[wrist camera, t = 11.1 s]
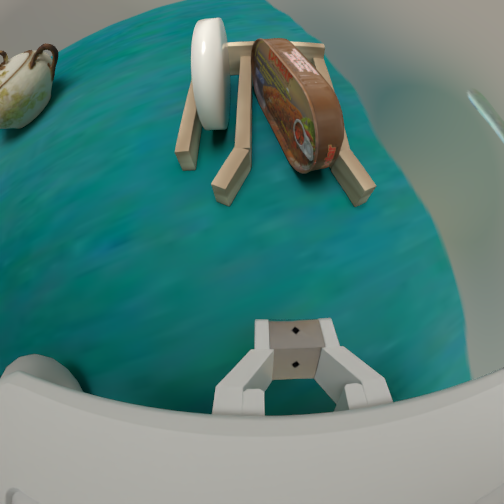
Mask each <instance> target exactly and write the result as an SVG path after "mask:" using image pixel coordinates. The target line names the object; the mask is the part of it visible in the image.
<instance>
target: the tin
mask: <svg viewBox="0 0 504 504" xmlns="http://www.w3.org/2000/svg"><path fill="white" fill-rule="evenodd" d="M251 72H252V79H253V85H254V90H255V93H256V97H257V99H258V102H259V104H260V107H261V109H262V111H263V112H264V114H265V116H266V118H267V120H268V122H269V124H270V126H271V128H272V129H273V131H274V133H275V135H276V137H277V139H278V141H279V143H280V145H281V147H282V149H283V151H284V153H285V155H286V157H287V159H288V161H289V163H290V164H291V165H292V167H293V168H294V169H295V170H296V171H298V172H299V173H303V174H305V173H308V172H310V171H314V170H318V169H323V168H327V167H330V166H332V165H333V164H334V163H335V161H336V160H337V158H338V156H339V153H340V150H341V146H342V143H343V139H344V121H343V115H342V110H341V107H340V104H339V101H338V99H337V96H336V94H335V92H334V90H333V89H332V87H331V86H330V85H329V83H328V82H327V81H326V80H325V79H324V77H323V76H322V75H321V74H320V73H319V72H318V70H317V69H316V68H315V67H314V66H313V65H312V64H311V62H310V61H309V60H308V59H307V58H306V57H305V56H304V55H303V54H302V53H301V52H300V51H299V50H298V49H297V48H296V47H295V46H294V45H293V44H292V43H291V42H290V41H289V40H287V39H282V38H274V39H257V40H256V41H255V42H254V43H253V46H252V50H251Z"/></svg>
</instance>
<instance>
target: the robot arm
mask: <svg viewBox="0 0 504 504" xmlns="http://www.w3.org/2000/svg"><path fill="white" fill-rule="evenodd" d="M306 378H314V379H315V380H316V382H317V383H318V384H319V385H320V386H321V387H322V388H323V390H324V391H325V392H326V393H327V394H328V395H329V396H330V398H331V399H332V400H333V401H334V402H335V403H336V404H337V405H336V407H335V410H334V412H328V413H317V414H304V415H285V416H265V408H264V392H265V390H266V389H267V387H268V386H269V384H270V383H271V382H272V380H280V379H306ZM0 504H504V367H503V368H501V369H499V370H496V371H494V372H491V373H489V374H486V375H484V376H481V377H479V378H476V379H473V380H471V381H468V382H465V383H462V384H459V385H456V386H453V387H450V388H447V389H443V390H440V391H437V392H433V393H430V394H426V395H422V396H418V397H414V398H410V399H406V400H402V401H397V402H393V401H392V398H391V395H390V392H389V389H388V386H387V384H386V381H385V378H384V377H382V376H381V375H380V374H378V373H377V372H376V371H375V370H373V369H372V368H371V367H369V366H368V365H367V364H366V363H364V362H363V361H362V360H360V359H359V358H358V357H357V356H355V355H354V354H353V353H351V352H350V351H349V350H348V349H346V348H345V347H344V346H341V347H340V345H339V342H338V338H337V335H336V332H335V329H334V325H333V322H332V319H331V318H319V319H298V320H276V319H269V320H262V319H255V349H251V350H250V351H249V352H248V353H247V354H246V355H245V356H244V357H243V358H242V359H241V361H240V362H239V363H238V364H237V365H236V366H235V367H234V368H233V369H232V370H231V371H230V372H229V373H228V374H227V375H226V376H225V377H224V379H223V380H222V381H221V382H220V383H219V384H218V385H217V386H216V388H215V396H214V403H213V410H212V414H202V413H191V412H182V411H174V410H166V409H159V408H153V407H147V406H141V405H136V404H131V403H126V402H121V401H116V400H112V399H108V398H103V397H99V396H95V395H92V394H88V393H84V392H81V391H77V390H74V389H71V388H67V387H64V386H61V385H58V384H55V383H52V382H49V381H46V380H44V379H41V378H38V377H36V376H33V375H31V374H28V373H26V372H23V371H15V372H12V373H10V374H8V375H6V376H4V377H3V378H1V379H0Z"/></svg>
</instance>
